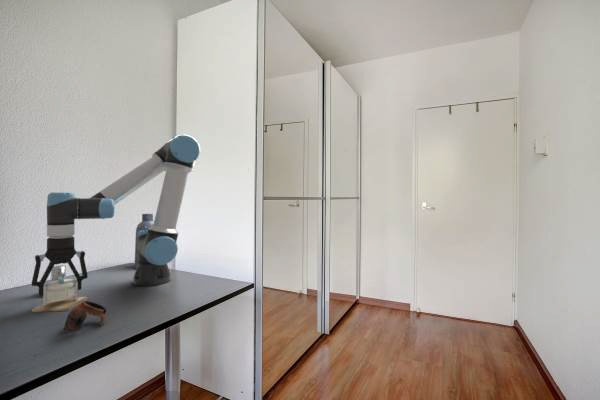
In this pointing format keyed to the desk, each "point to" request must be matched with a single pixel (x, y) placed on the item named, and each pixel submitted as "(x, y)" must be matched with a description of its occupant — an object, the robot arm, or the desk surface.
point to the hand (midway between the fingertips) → (60, 301)
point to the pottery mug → (84, 315)
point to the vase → (144, 225)
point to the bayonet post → (58, 273)
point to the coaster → (60, 304)
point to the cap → (60, 289)
